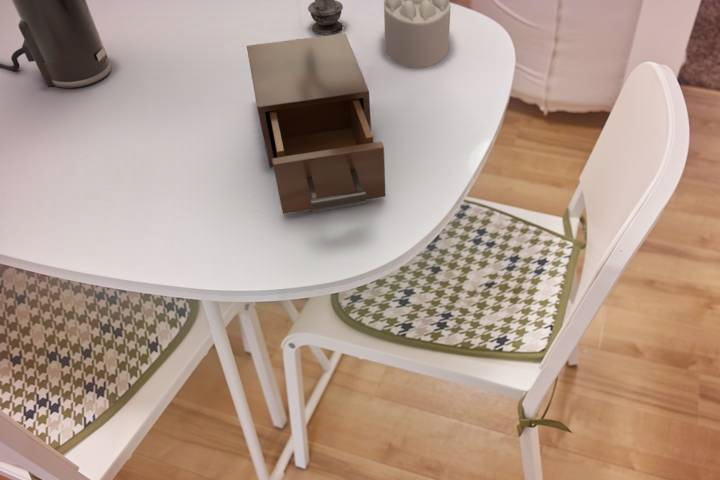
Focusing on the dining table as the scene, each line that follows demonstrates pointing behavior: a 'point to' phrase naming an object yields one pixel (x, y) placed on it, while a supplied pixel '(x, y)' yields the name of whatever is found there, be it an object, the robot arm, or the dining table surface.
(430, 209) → the dining table surface
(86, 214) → the dining table surface
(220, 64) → the dining table surface
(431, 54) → the lumpy-topped squat cylinder
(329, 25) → the grey stone knobbed piece
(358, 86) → the cabinet
